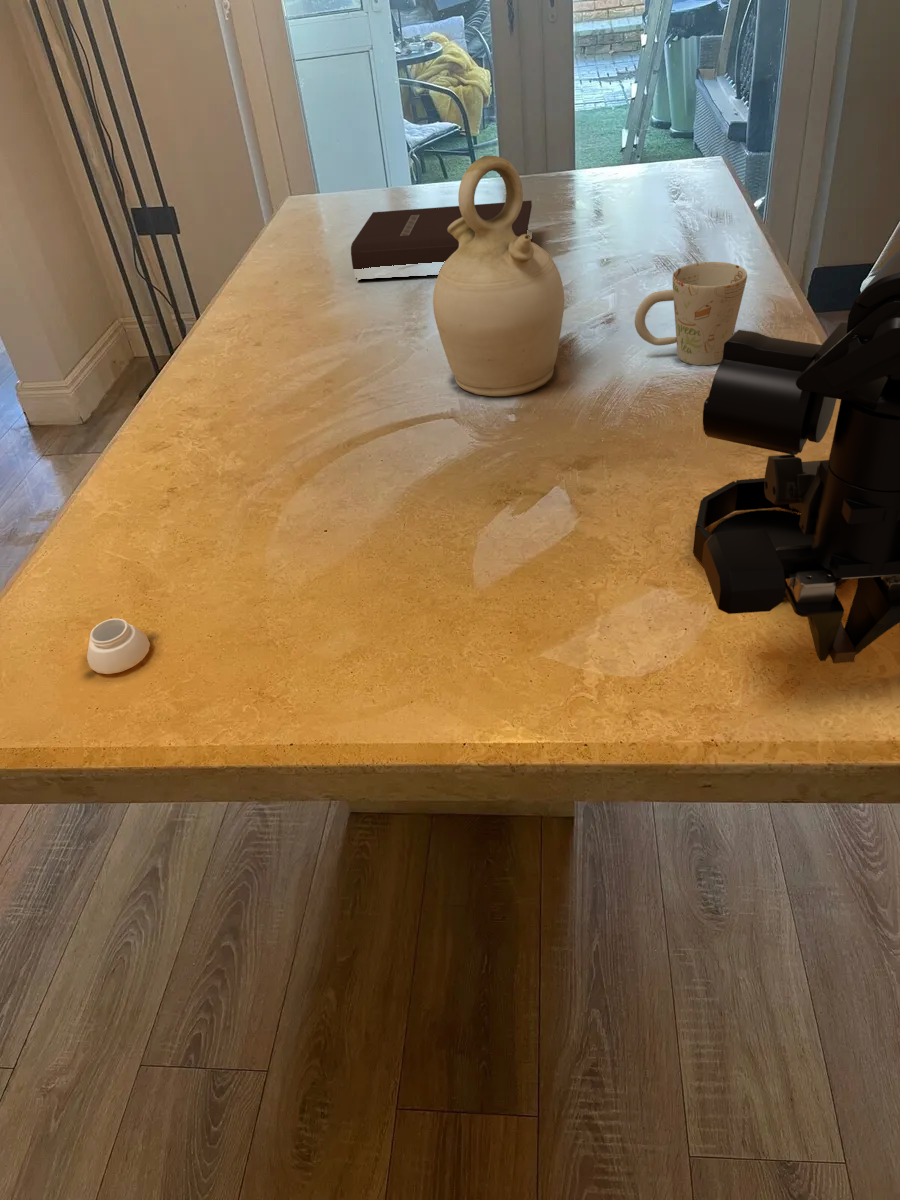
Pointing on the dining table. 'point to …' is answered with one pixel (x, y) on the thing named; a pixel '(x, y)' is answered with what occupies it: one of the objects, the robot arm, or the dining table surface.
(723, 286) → the mug
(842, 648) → the frying pan
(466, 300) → the jug
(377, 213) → the book
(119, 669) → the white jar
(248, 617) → the dining table surface
